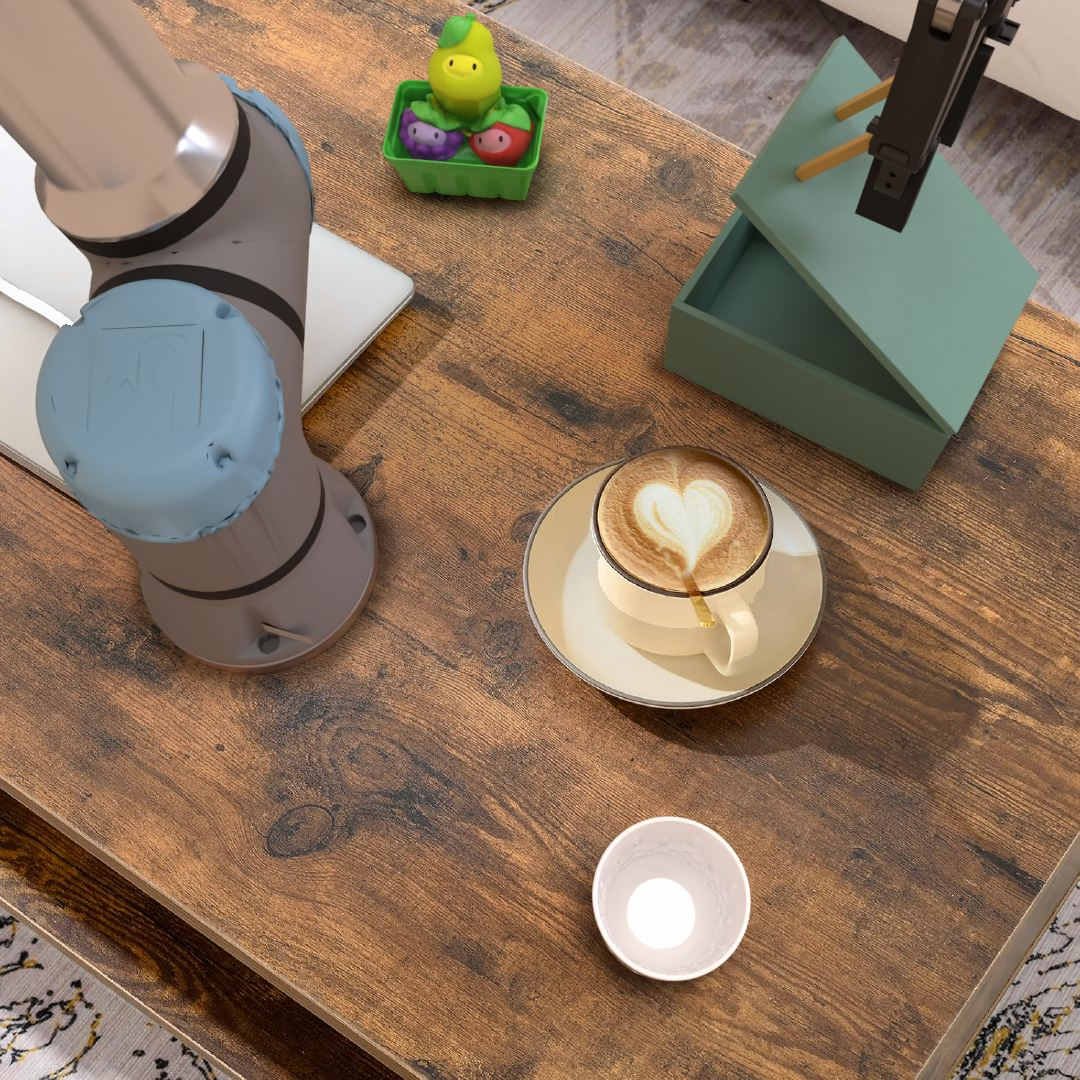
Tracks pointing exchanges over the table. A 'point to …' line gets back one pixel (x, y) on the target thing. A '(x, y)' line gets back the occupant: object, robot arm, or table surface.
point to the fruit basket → (465, 121)
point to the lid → (887, 243)
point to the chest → (793, 358)
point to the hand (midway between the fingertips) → (906, 175)
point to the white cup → (671, 899)
